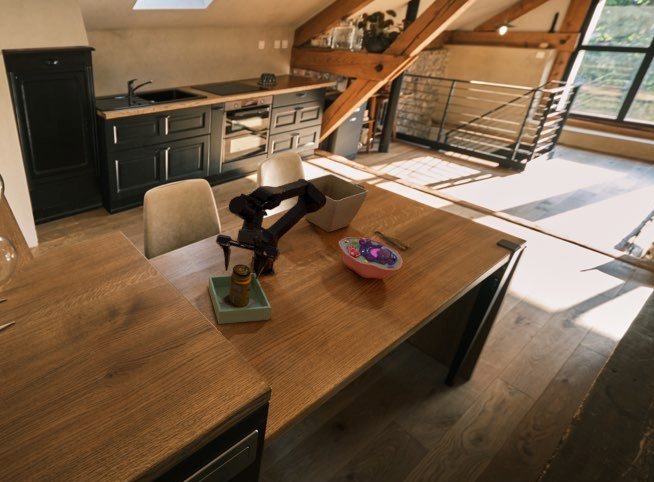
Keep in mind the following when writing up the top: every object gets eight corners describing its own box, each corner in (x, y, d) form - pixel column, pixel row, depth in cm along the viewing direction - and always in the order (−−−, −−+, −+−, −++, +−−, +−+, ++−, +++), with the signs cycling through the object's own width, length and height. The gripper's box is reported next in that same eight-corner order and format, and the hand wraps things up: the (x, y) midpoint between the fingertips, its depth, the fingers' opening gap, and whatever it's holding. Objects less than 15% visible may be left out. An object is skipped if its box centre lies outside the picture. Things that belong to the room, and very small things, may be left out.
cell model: (347, 248, 144) (353, 222, 139) (404, 274, 131) (413, 246, 126) (325, 268, 133) (331, 241, 129) (386, 298, 120) (394, 269, 115)
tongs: (376, 231, 155) (377, 227, 154) (409, 248, 145) (410, 244, 144) (370, 235, 152) (372, 230, 152) (403, 252, 143) (405, 248, 142)
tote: (253, 284, 125) (255, 273, 123) (269, 319, 111) (271, 307, 110) (208, 287, 124) (208, 276, 122) (218, 324, 110) (219, 311, 108)
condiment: (254, 301, 117) (258, 269, 113) (237, 315, 112) (240, 282, 107) (236, 289, 122) (239, 258, 118) (218, 301, 117) (220, 270, 112)
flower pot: (293, 216, 165) (298, 181, 158) (324, 206, 173) (331, 173, 166) (328, 239, 149) (335, 201, 143) (360, 227, 158) (369, 190, 151)
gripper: (219, 211, 115) (206, 262, 110) (282, 224, 109) (271, 279, 104) (224, 221, 125) (213, 268, 120) (282, 233, 119) (272, 284, 114)
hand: (241, 274), depth 114 cm, fingers open, 9 cm apart
